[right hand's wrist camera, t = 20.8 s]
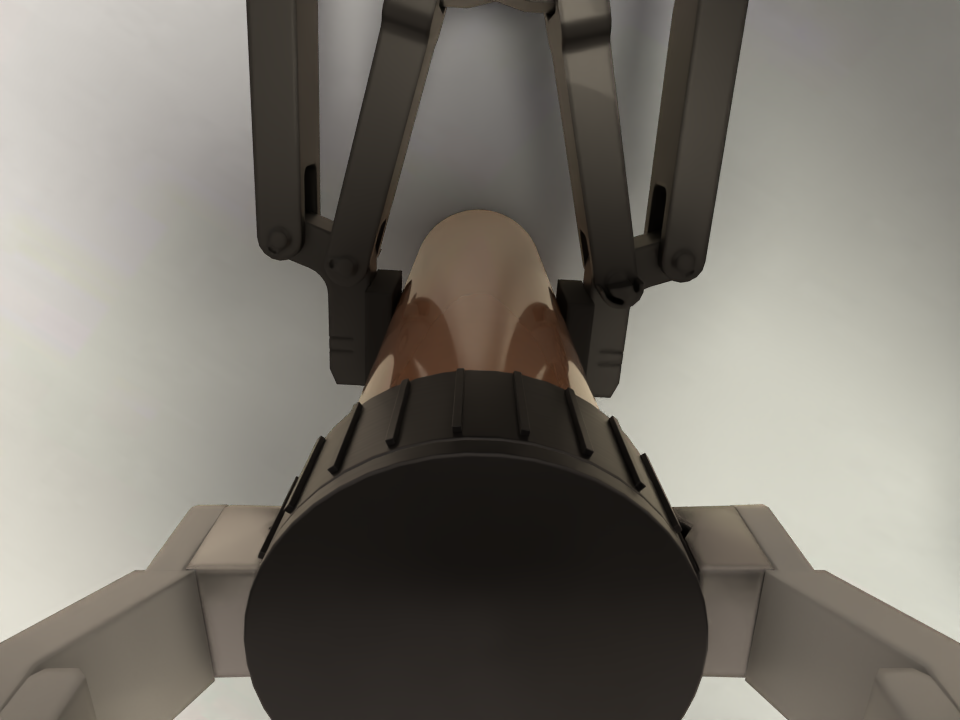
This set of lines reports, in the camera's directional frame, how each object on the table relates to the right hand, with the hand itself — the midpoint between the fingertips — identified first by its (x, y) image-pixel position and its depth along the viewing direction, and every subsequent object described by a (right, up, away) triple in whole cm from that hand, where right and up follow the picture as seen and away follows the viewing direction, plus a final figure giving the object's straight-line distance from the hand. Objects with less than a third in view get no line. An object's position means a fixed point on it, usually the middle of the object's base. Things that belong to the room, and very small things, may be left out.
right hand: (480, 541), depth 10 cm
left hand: (0, -1, +12) cm, 12 cm away
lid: (0, -1, -2) cm, 2 cm away
